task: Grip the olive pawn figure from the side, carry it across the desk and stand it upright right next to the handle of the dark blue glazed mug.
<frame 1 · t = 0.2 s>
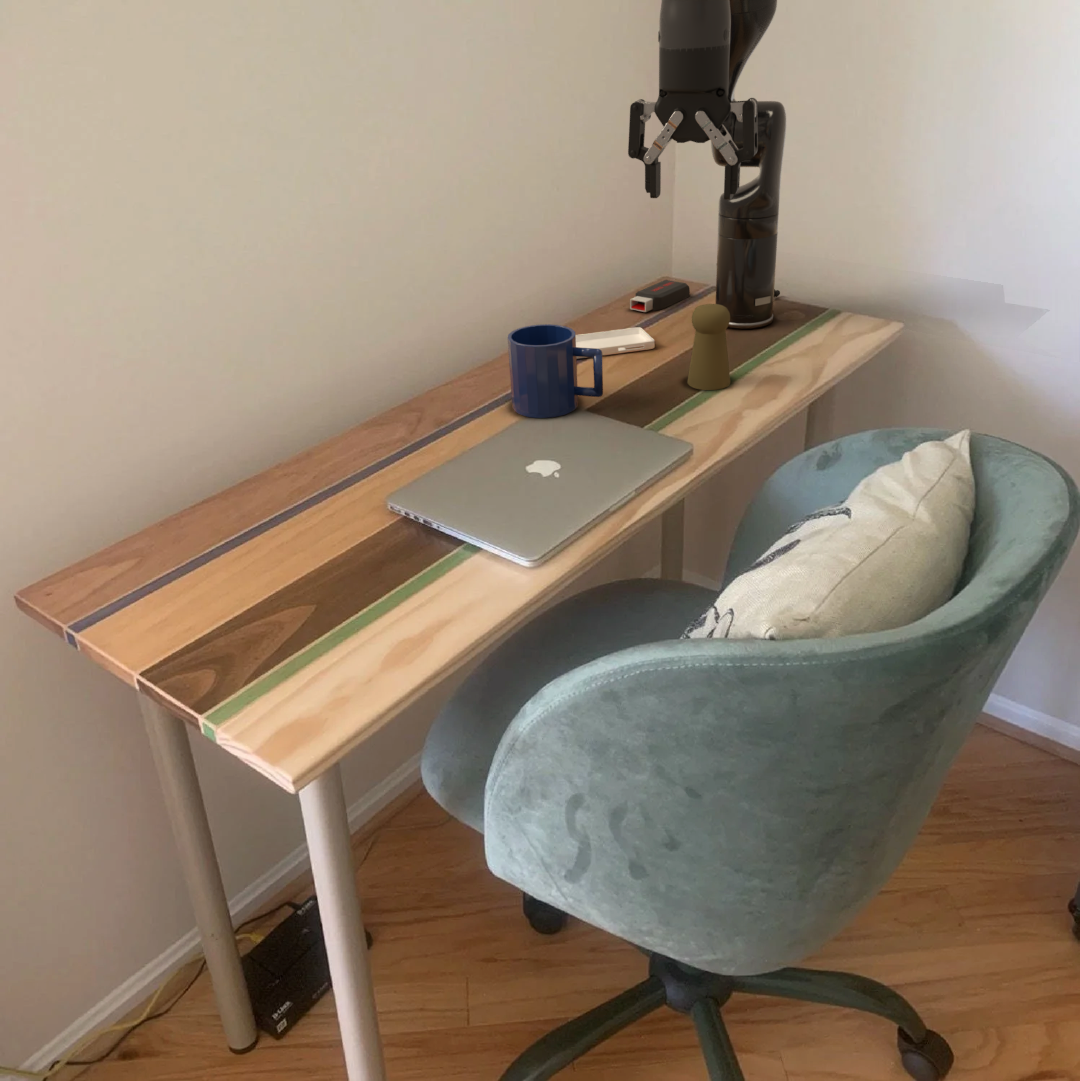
hand: (691, 197, 119), 29 cm above the table, tool pointing down, fingers open, 8 cm apart
phone case: (602, 348, 161), on the table
mug: (545, 405, 142), on the table
olive pawn figure: (708, 383, 147), on the table
usb drive: (658, 304, 180), on the table
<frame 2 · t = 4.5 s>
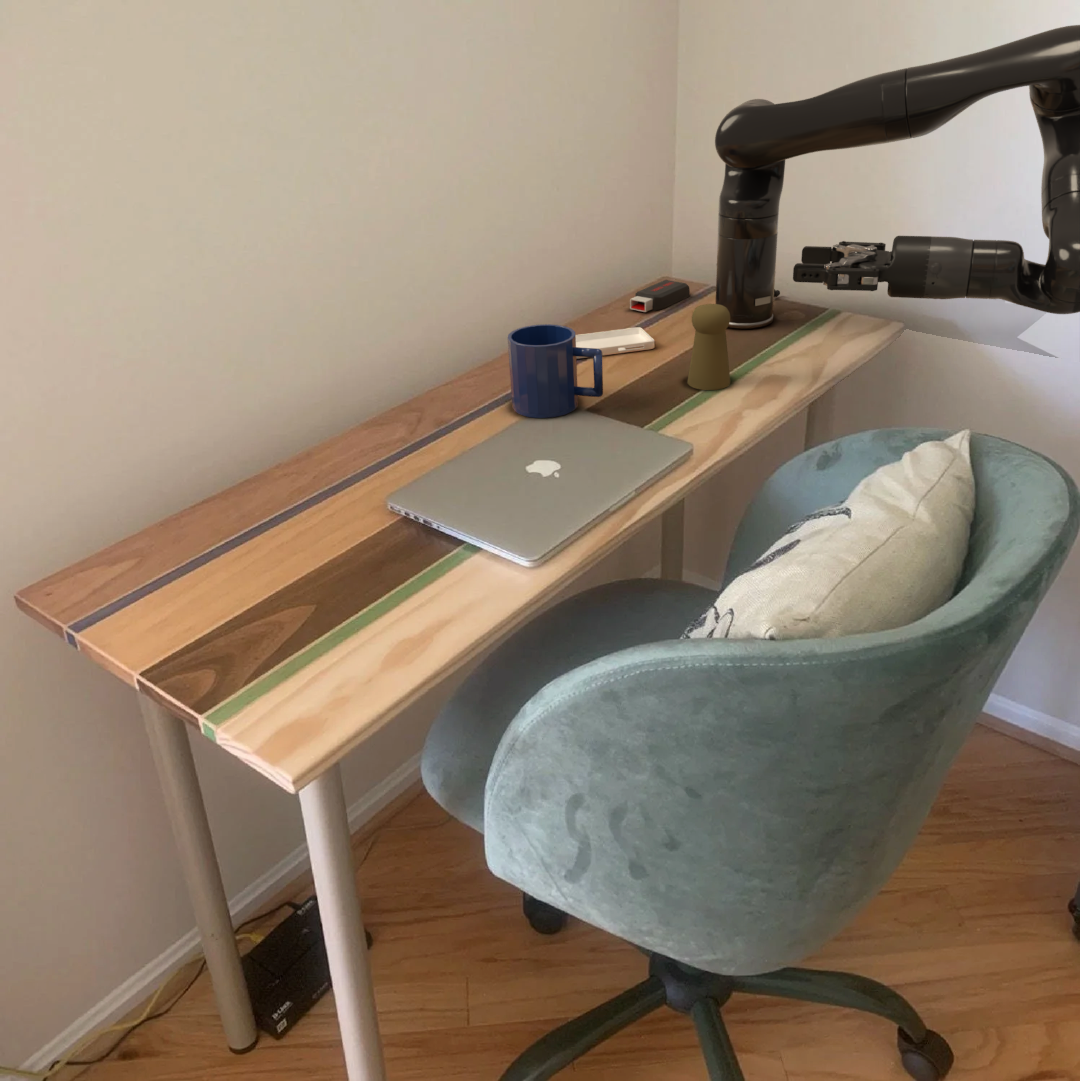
hand: (797, 263, 134), 17 cm above the table, tool horizontal, fingers open, 8 cm apart
nothing on the table moved.
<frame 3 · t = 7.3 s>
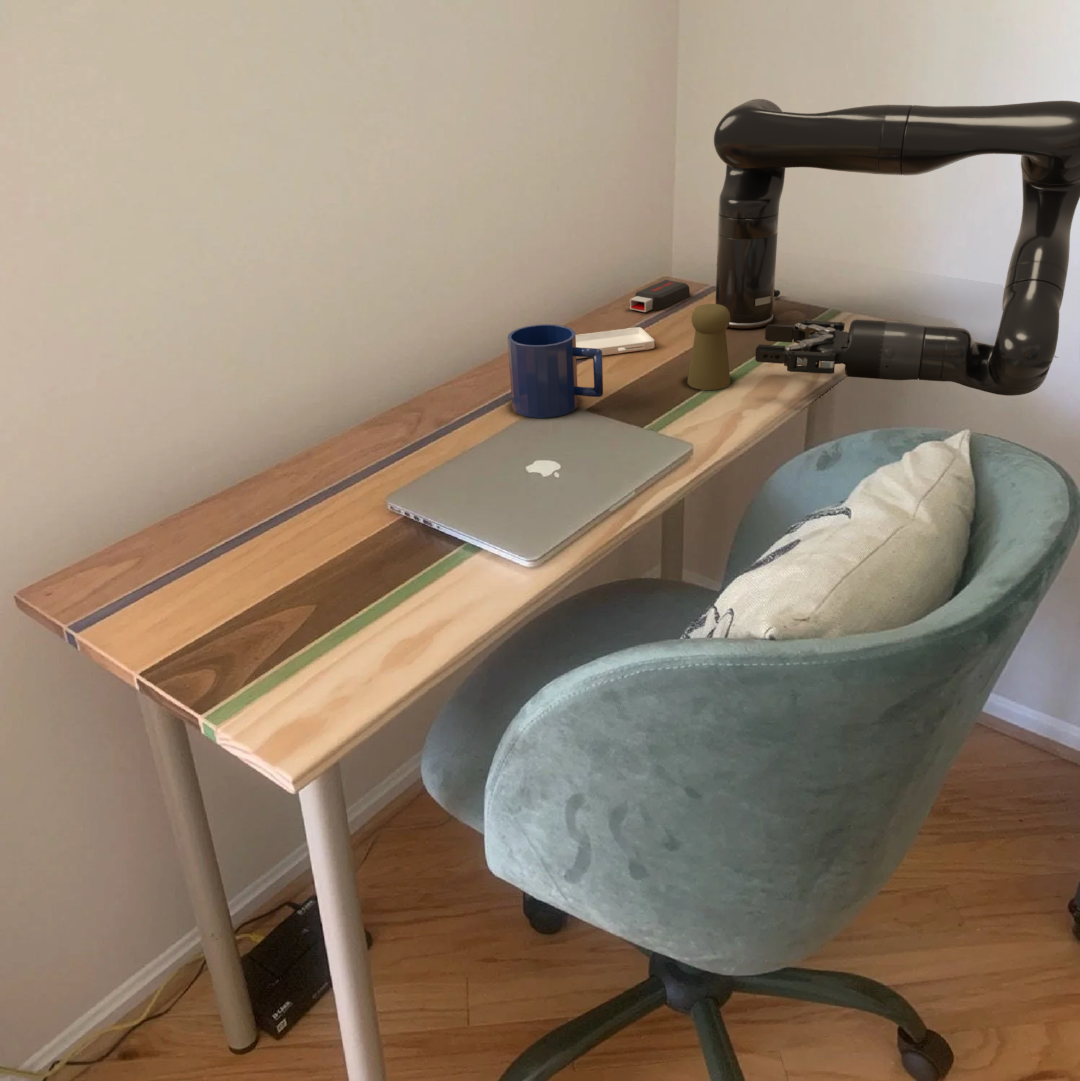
hand: (760, 342, 141), 6 cm above the table, tool horizontal, fingers open, 8 cm apart
nothing on the table moved.
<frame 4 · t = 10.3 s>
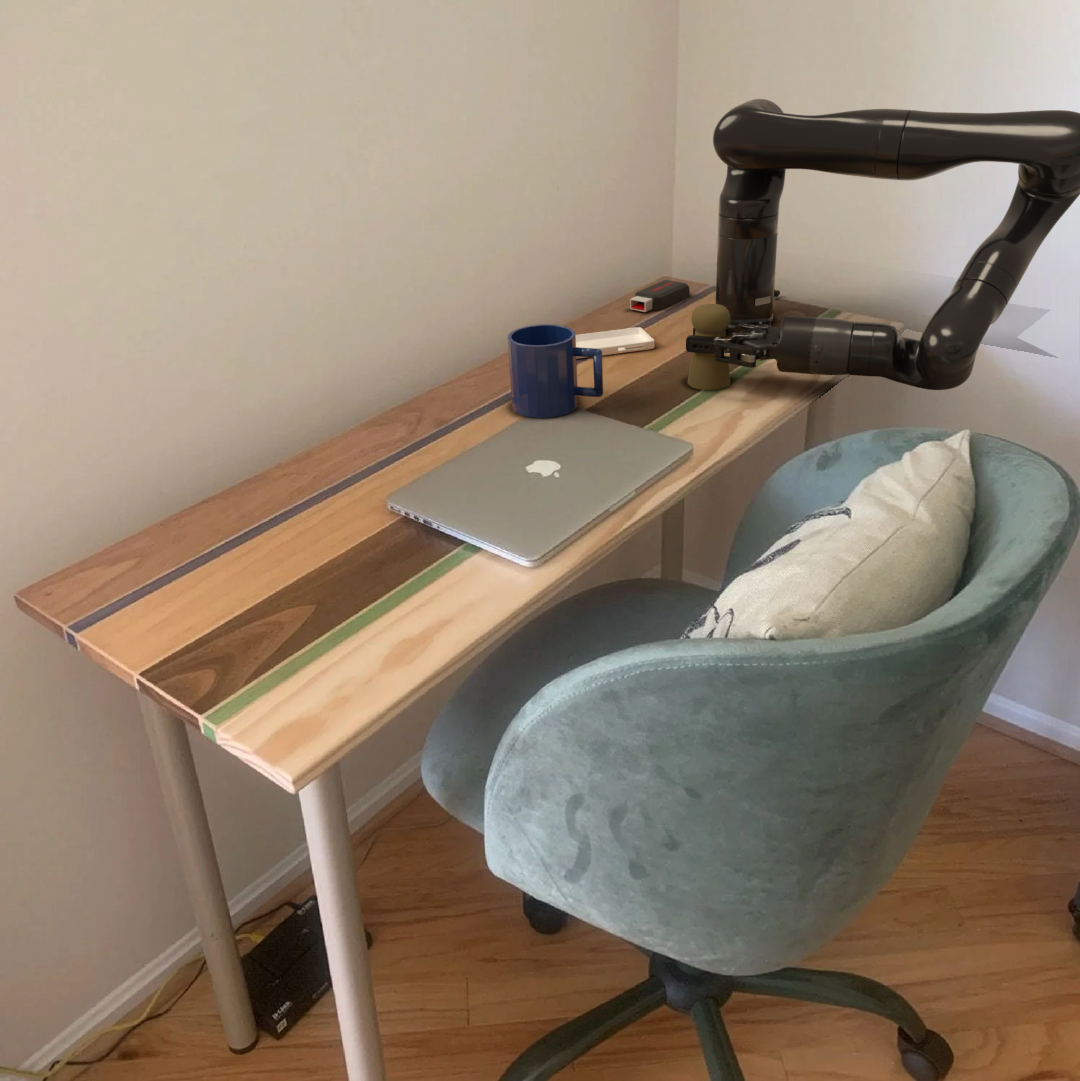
hand: (690, 337, 144), 6 cm above the table, tool horizontal, fingers closed on olive pawn figure, 4 cm apart
olive pawn figure: (708, 383, 147), on the table, touching gripper
everything else where it was.
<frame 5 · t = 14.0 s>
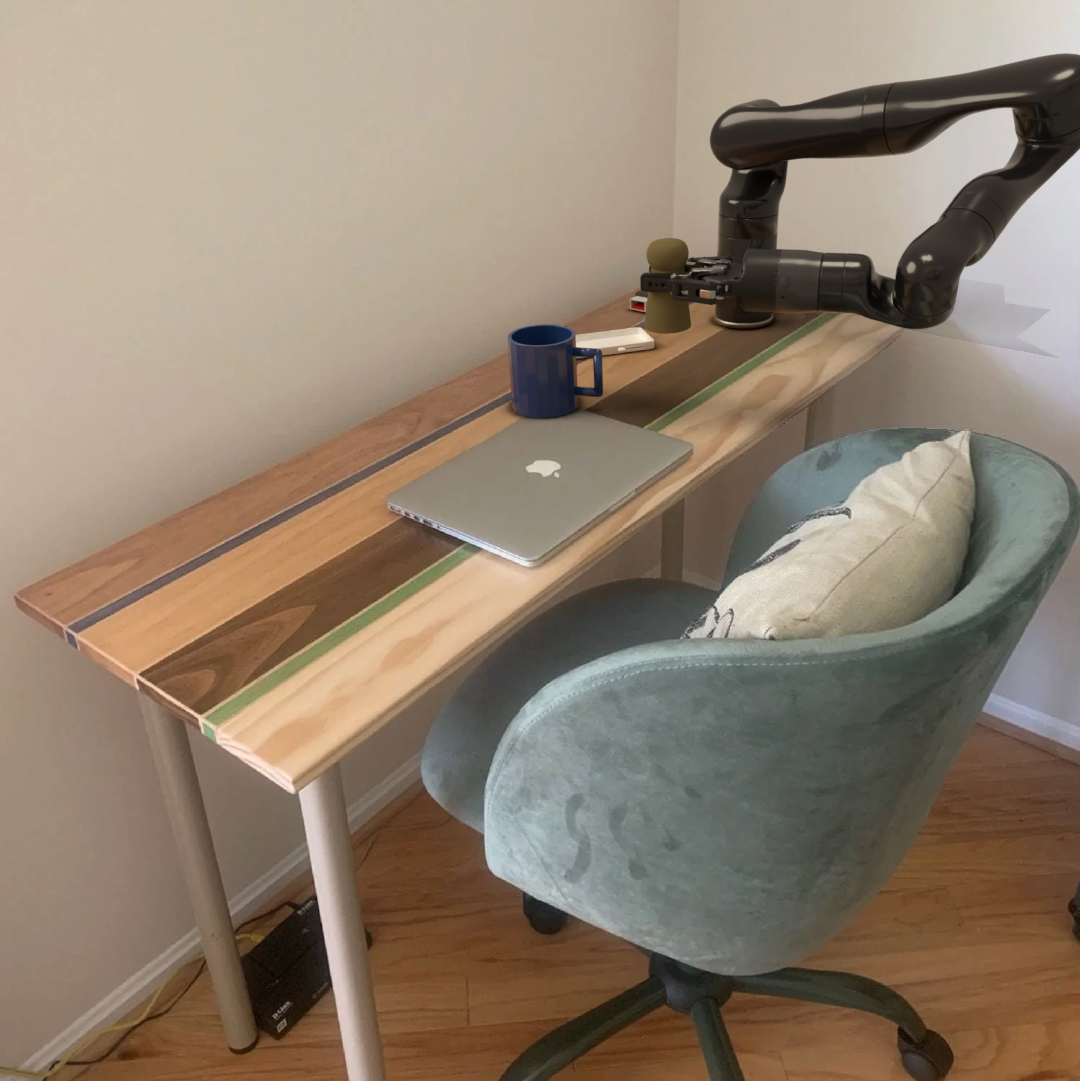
hand: (646, 276, 131), 18 cm above the table, tool horizontal, fingers closed on olive pawn figure, 4 cm apart
olive pawn figure: (667, 327, 134), point 11 cm above the table, touching gripper
everything else where it was.
when the fingers open (6 cm above the table, at t = 17.7 s): olive pawn figure stays where it is, on the table.
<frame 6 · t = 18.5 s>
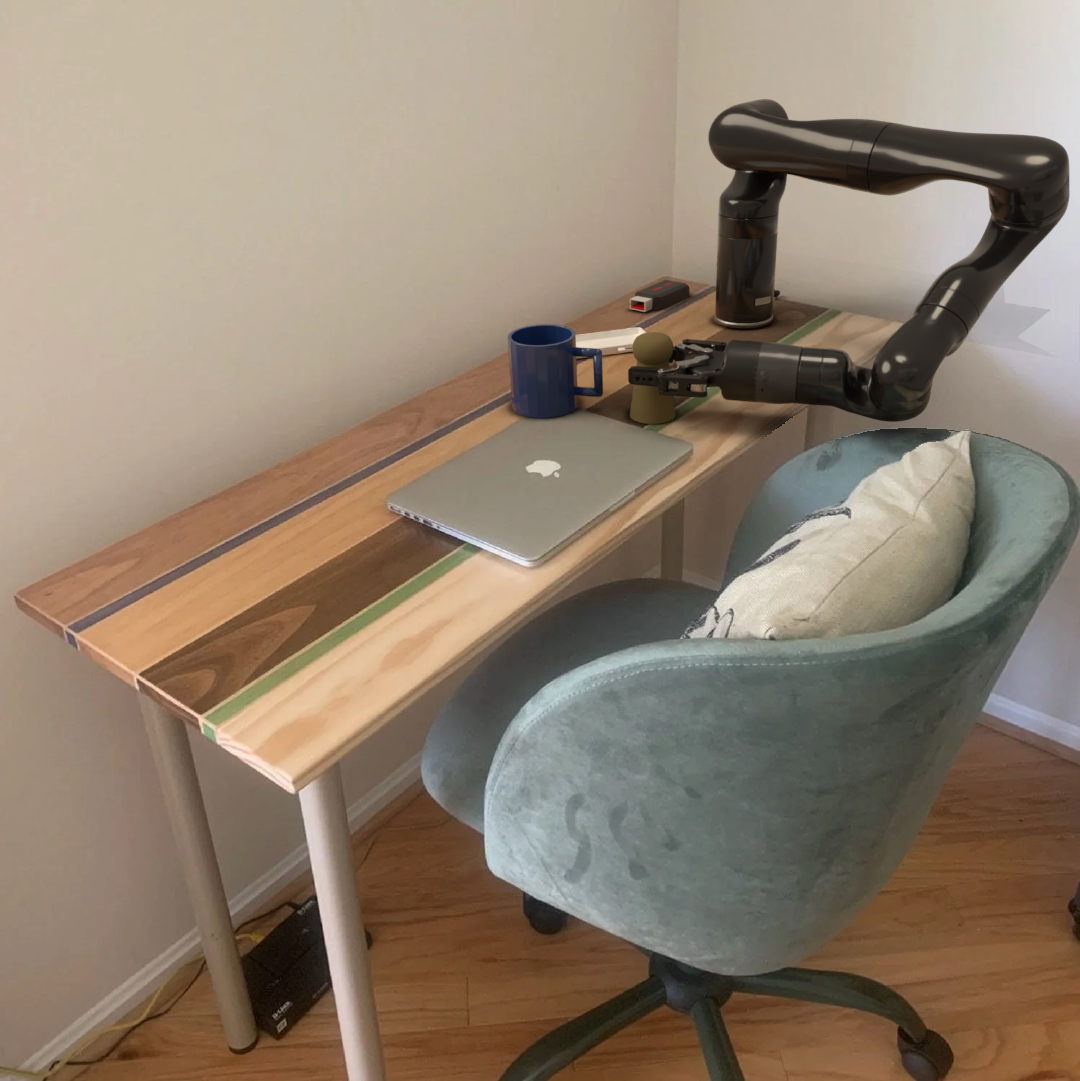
hand: (637, 363, 135), 7 cm above the table, tool horizontal, fingers open, 8 cm apart
olive pawn figure: (652, 416, 137), on the table
everything else where it was.
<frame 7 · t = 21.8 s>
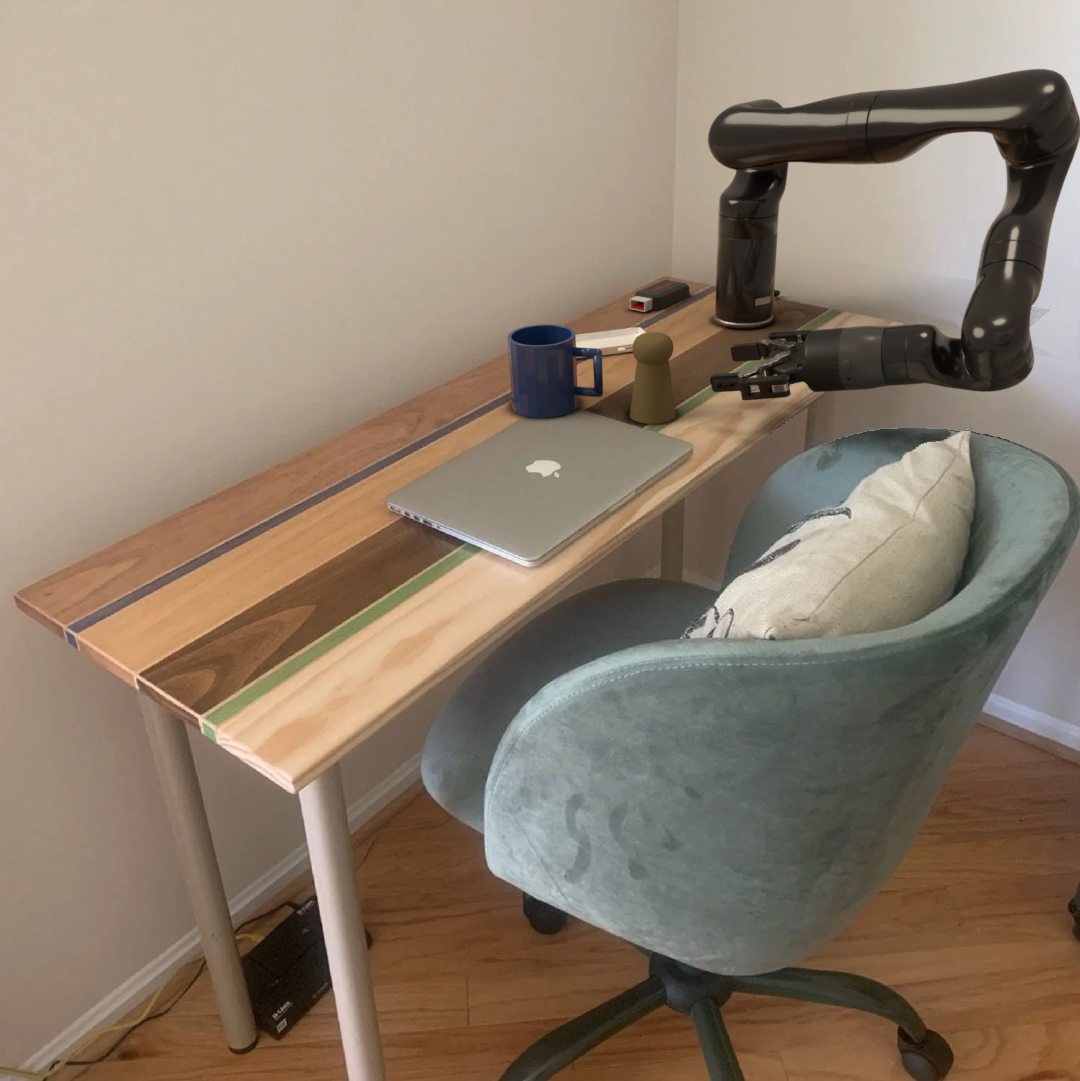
hand: (722, 367, 133), 6 cm above the table, tool horizontal, fingers open, 8 cm apart
nothing on the table moved.
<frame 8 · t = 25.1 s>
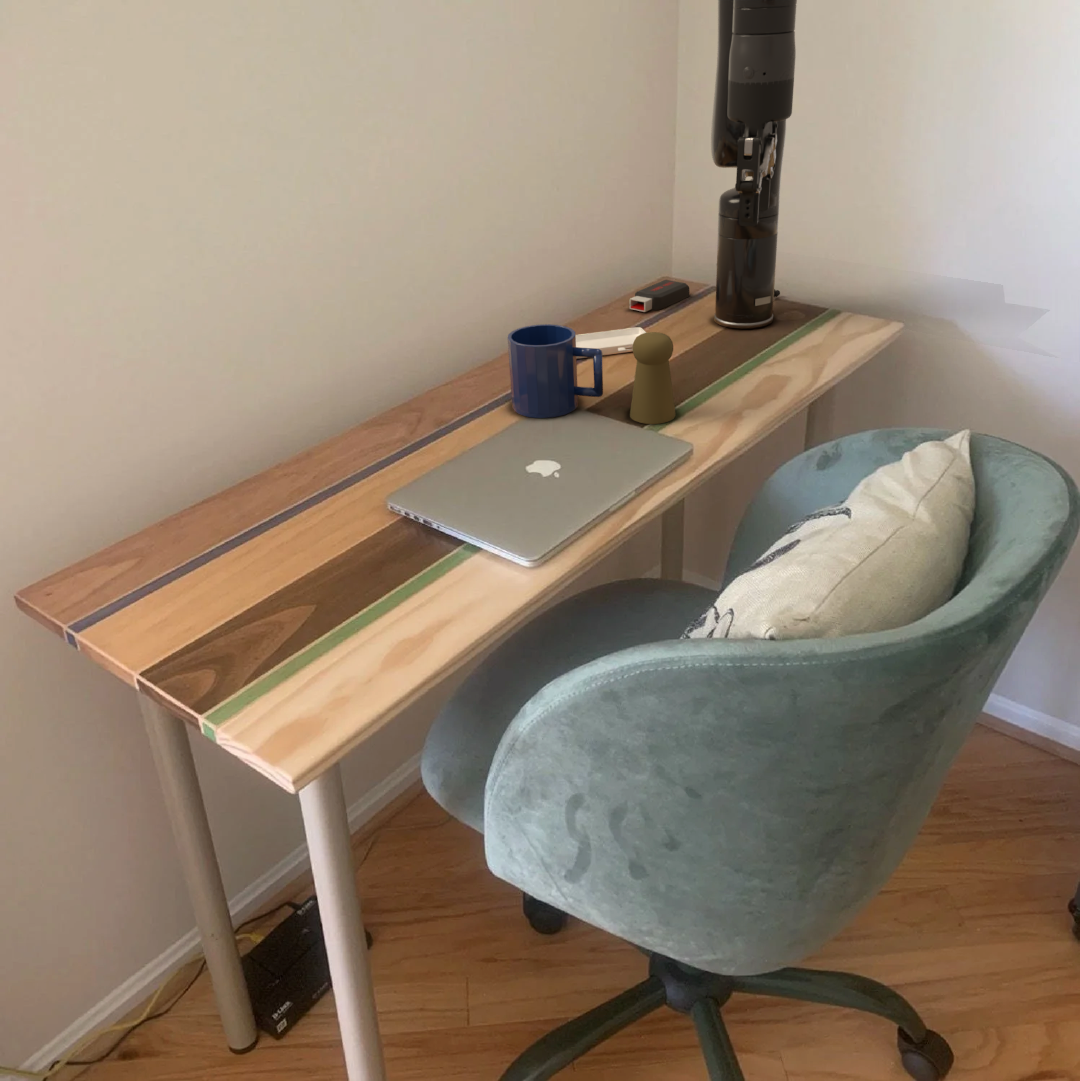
hand: (754, 217, 129), 24 cm above the table, tool pointing down, fingers open, 8 cm apart
nothing on the table moved.
at the end: olive pawn figure inside the target area on the table beside the mug (0.5 cm from its centre), on the table; olive pawn figure tilted 0°; the gripper is holding nothing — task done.
